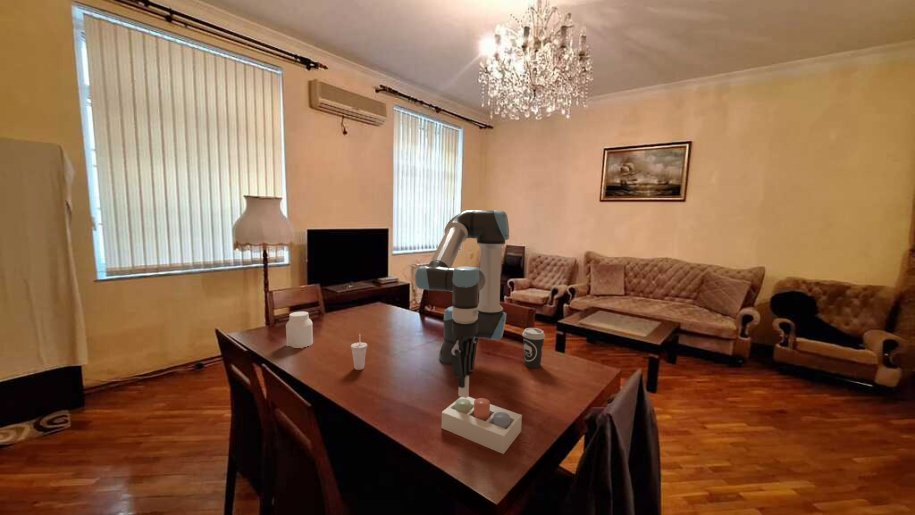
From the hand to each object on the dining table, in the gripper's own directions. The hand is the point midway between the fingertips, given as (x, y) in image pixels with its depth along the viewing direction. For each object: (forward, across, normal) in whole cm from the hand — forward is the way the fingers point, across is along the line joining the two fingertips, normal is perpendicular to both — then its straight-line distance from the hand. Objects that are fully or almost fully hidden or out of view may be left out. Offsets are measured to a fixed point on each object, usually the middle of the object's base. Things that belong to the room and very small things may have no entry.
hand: (463, 395), depth 105 cm
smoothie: (+9, +8, +55) cm, 56 cm away
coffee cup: (+9, +52, -3) cm, 52 cm away
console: (+8, 0, -7) cm, 11 cm away
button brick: (+6, 0, -7) cm, 9 cm away
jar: (+9, +9, +97) cm, 98 cm away
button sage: (+8, 0, 0) cm, 8 cm away
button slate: (+8, 0, -13) cm, 15 cm away
